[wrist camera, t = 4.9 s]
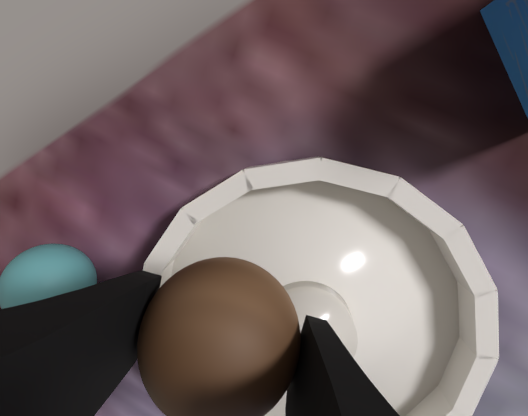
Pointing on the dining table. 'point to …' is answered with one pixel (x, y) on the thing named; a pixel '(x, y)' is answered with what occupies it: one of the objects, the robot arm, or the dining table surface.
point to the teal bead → (45, 274)
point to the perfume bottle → (511, 40)
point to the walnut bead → (219, 340)
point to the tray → (357, 272)
